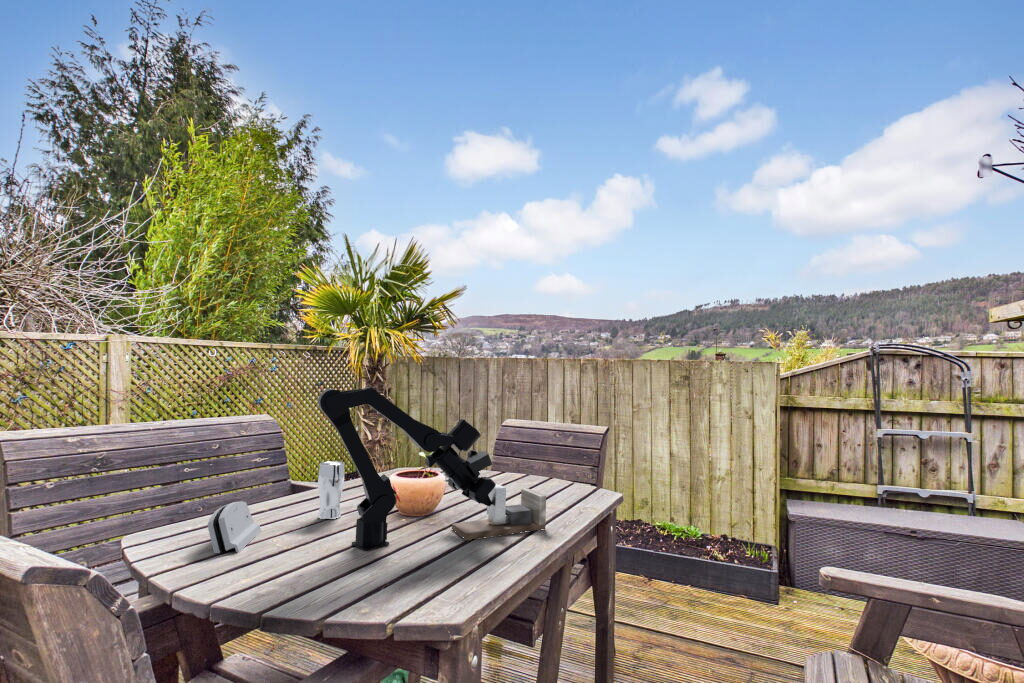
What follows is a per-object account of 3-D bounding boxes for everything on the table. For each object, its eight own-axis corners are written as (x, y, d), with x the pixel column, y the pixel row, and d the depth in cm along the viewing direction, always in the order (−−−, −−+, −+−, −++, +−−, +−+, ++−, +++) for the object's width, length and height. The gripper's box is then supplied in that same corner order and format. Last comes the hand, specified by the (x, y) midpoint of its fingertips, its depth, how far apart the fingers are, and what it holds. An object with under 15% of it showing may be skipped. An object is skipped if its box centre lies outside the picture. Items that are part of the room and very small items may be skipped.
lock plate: (466, 540, 126) (468, 503, 126) (451, 529, 135) (453, 494, 135) (545, 529, 137) (546, 495, 137) (526, 520, 146) (527, 488, 146)
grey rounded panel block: (238, 553, 112) (224, 510, 113) (216, 561, 112) (202, 518, 112) (261, 530, 129) (250, 493, 129) (242, 537, 128) (230, 499, 128)
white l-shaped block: (494, 526, 132) (496, 488, 133) (486, 521, 137) (487, 484, 137) (527, 522, 137) (528, 485, 138) (518, 517, 142) (519, 482, 142)
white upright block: (337, 521, 139) (339, 465, 140) (311, 520, 139) (314, 464, 140) (345, 514, 146) (348, 461, 147) (321, 513, 146) (324, 460, 147)
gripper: (489, 446, 125) (527, 488, 130) (460, 437, 141) (494, 475, 146) (458, 481, 121) (498, 523, 125) (432, 468, 137) (468, 505, 142)
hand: (490, 504), depth 135 cm, fingers closed, pressing on white l-shaped block
